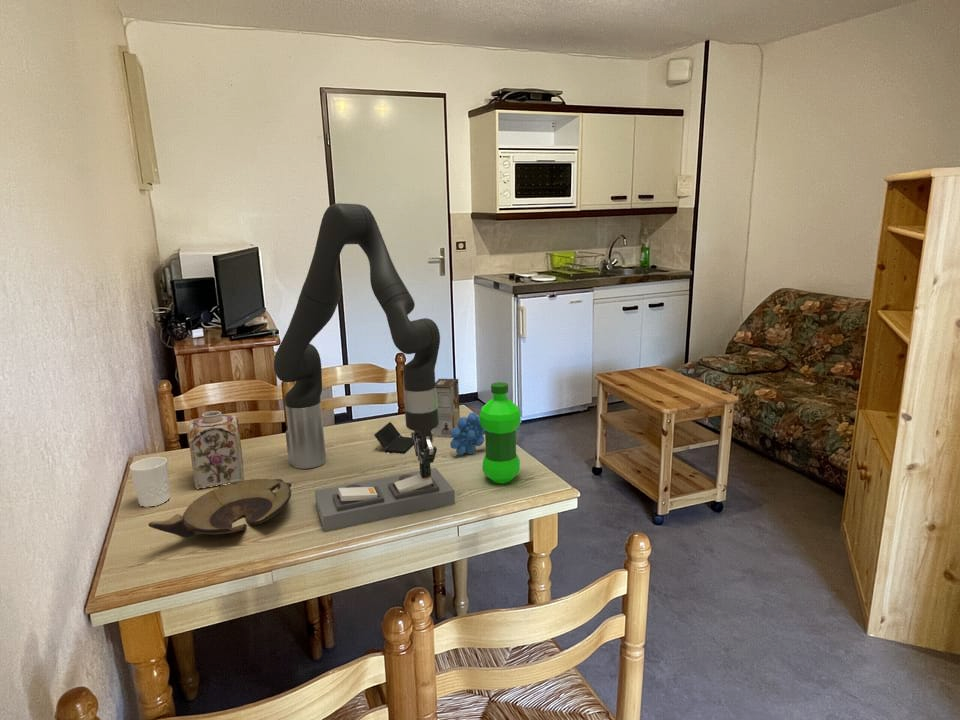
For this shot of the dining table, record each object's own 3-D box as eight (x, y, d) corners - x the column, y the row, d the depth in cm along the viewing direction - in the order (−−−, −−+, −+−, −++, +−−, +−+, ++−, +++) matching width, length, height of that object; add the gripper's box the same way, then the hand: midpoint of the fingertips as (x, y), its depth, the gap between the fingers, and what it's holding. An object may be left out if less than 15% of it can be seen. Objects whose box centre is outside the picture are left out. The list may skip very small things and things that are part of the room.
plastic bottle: (473, 481, 154) (470, 386, 148) (498, 467, 162) (496, 376, 156) (504, 491, 148) (502, 393, 142) (529, 476, 155) (528, 382, 149)
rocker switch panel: (324, 531, 131) (322, 512, 130) (315, 504, 144) (314, 486, 143) (454, 503, 142) (454, 486, 141) (436, 480, 155) (435, 464, 154)
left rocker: (341, 501, 134) (341, 495, 134) (338, 492, 138) (338, 487, 138) (377, 499, 137) (377, 494, 137) (372, 491, 141) (373, 486, 141)
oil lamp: (307, 526, 134) (304, 494, 132) (154, 568, 120) (148, 533, 118) (285, 488, 153) (281, 460, 151) (150, 520, 139) (145, 489, 137)
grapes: (481, 444, 177) (480, 405, 175) (492, 452, 172) (491, 412, 169) (444, 452, 172) (443, 412, 169) (454, 460, 166) (453, 419, 164)
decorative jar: (195, 491, 153) (184, 423, 148) (197, 473, 163) (188, 409, 159) (245, 482, 157) (236, 416, 153) (244, 465, 167) (236, 403, 163)
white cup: (136, 512, 143) (129, 472, 140) (137, 498, 149) (130, 460, 147) (173, 504, 146) (167, 465, 144) (172, 491, 153) (166, 454, 150)
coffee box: (441, 426, 194) (438, 377, 190) (460, 427, 192) (458, 378, 188) (433, 436, 185) (430, 386, 181) (453, 437, 184) (451, 386, 180)
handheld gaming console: (411, 448, 172) (389, 421, 172) (392, 463, 173) (370, 436, 173) (420, 439, 183) (400, 413, 183) (402, 453, 184) (382, 427, 184)
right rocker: (399, 494, 139) (398, 489, 138) (395, 487, 143) (394, 482, 142) (432, 483, 141) (431, 478, 141) (427, 476, 145) (425, 471, 145)
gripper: (446, 412, 134) (450, 484, 138) (428, 396, 146) (432, 463, 150) (413, 417, 131) (418, 491, 135) (397, 401, 143) (402, 469, 147)
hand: (425, 476), depth 143 cm, fingers closed
